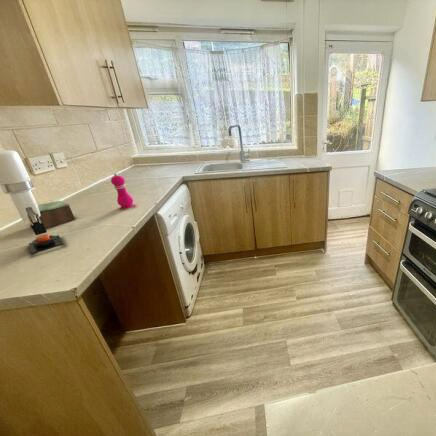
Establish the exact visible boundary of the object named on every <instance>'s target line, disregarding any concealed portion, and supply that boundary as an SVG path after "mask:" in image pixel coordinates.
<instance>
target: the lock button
mask: <svg viewBox="0 0 436 436" xmlns="http://www.w3.org/2000/svg"><path fill="white" fill-rule="evenodd" d="M36 239H37V241H38V242H43V241H47V240H49V239H50V234H48V233H43V234H39V235H37V236H36V237H35V240H36Z"/></svg>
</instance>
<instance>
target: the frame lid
mask: <svg viewBox="0 0 436 436" xmlns="http://www.w3.org/2000/svg"><path fill="white" fill-rule="evenodd" d="M37 205H38V208H39V211H40V212H43V211H47V210H52V209H56V208H61V207H65V206H70V204H69V203H67V202H65V201H62V200H56V201H51V202H46V203H41V204H37Z"/></svg>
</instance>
